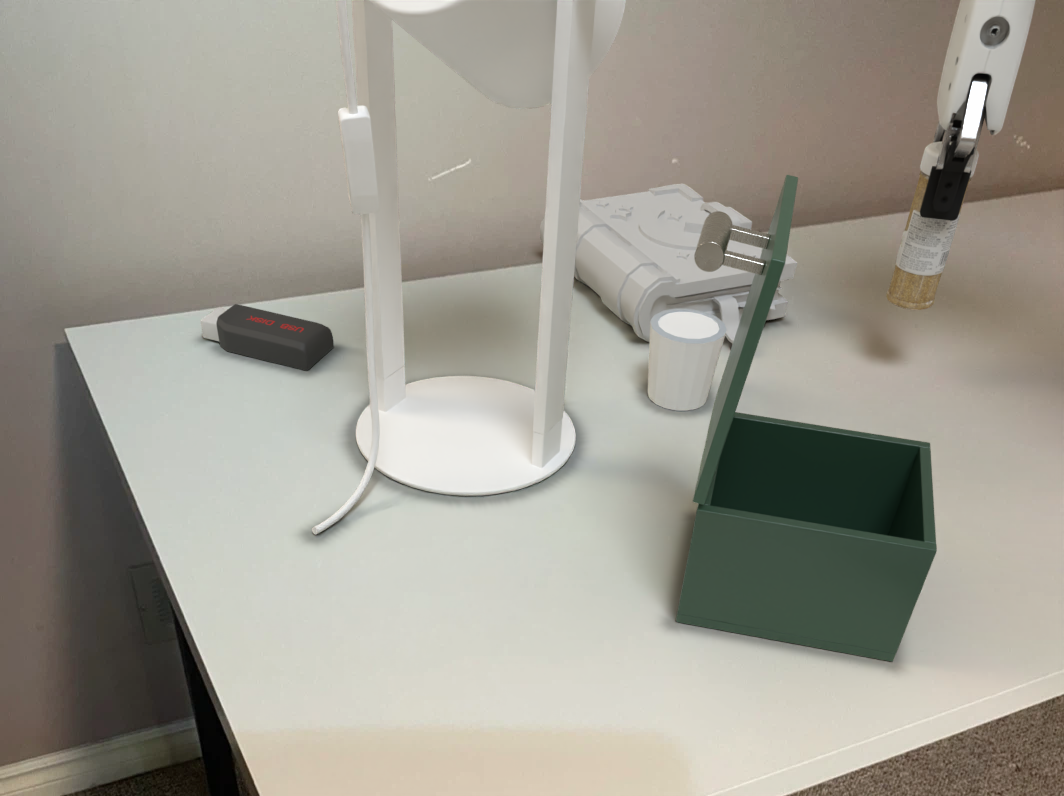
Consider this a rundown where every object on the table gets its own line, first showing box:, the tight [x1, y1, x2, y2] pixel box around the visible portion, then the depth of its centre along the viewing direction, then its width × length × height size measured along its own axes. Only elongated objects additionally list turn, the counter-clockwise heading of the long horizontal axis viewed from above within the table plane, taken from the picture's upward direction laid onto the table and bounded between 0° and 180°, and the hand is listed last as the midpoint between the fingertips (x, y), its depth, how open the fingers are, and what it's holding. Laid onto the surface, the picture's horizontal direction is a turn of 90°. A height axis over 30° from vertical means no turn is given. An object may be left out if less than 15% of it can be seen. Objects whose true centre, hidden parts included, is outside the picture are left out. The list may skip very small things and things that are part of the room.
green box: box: [675, 411, 938, 663], centre depth 78 cm, size 16×14×10 cm
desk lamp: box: [311, 0, 627, 535], centre depth 77 cm, size 21×32×45 cm, turn 150°
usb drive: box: [200, 303, 335, 372], centre depth 103 cm, size 5×12×3 cm, turn 69°
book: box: [539, 183, 798, 345], centre depth 113 cm, size 19×28×8 cm
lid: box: [692, 174, 799, 505], centre depth 70 cm, size 16×14×5 cm
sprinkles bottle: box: [885, 141, 980, 311], centre depth 97 cm, size 5×5×13 cm
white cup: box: [647, 309, 727, 412], centre depth 99 cm, size 7×7×7 cm
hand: (937, 204), depth 95 cm, fingers closed on sprinkles bottle, 4 cm apart
